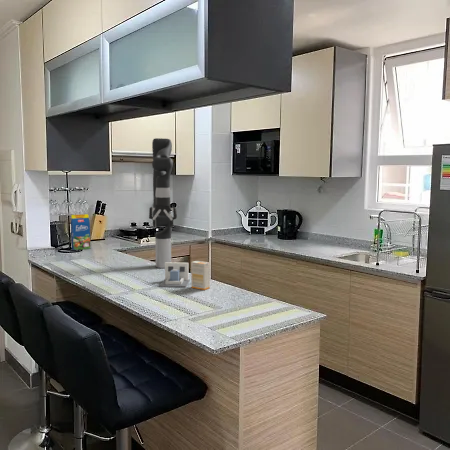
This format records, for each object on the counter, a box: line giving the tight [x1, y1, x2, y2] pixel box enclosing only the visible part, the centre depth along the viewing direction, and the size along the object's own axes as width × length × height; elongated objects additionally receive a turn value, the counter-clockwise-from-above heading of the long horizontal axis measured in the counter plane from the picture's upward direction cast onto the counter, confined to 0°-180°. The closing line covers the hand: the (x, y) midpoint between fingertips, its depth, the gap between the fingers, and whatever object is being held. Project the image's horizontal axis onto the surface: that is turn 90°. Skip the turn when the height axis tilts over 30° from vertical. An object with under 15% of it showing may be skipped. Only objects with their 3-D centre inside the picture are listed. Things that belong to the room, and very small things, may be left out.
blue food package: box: [70, 213, 92, 251], centre depth 329 cm, size 6×12×25 cm, turn 121°
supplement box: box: [190, 260, 211, 291], centre depth 224 cm, size 8×5×13 cm, turn 56°
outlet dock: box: [159, 261, 190, 288], centre depth 232 cm, size 13×13×10 cm
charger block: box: [170, 269, 179, 281], centre depth 233 cm, size 4×4×6 cm
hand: (163, 227), depth 240 cm, fingers open, 8 cm apart
